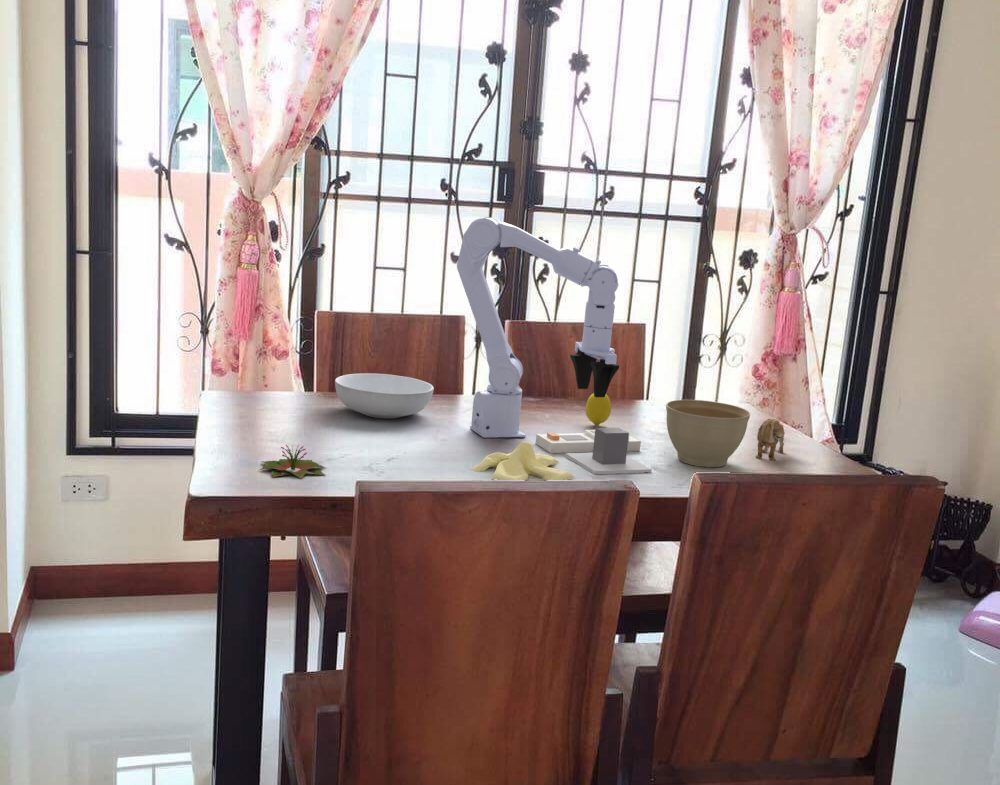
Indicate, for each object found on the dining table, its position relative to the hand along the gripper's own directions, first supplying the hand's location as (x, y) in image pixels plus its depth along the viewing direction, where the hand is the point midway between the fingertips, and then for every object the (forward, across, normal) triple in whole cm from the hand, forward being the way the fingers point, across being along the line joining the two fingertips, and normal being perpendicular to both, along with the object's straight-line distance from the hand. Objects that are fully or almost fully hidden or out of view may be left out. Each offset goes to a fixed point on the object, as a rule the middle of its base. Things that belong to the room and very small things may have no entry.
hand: (590, 392), depth 204 cm
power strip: (+10, -4, +1) cm, 11 cm away
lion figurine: (+10, -13, -36) cm, 40 cm away
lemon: (+11, +13, -9) cm, 19 cm away
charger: (+10, -16, +3) cm, 19 cm away
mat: (+10, -16, +3) cm, 19 cm away
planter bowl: (+10, -16, -18) cm, 26 cm away
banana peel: (+11, -18, +23) cm, 31 cm away
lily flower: (+11, -14, +62) cm, 65 cm away
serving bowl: (+11, +26, +36) cm, 45 cm away
